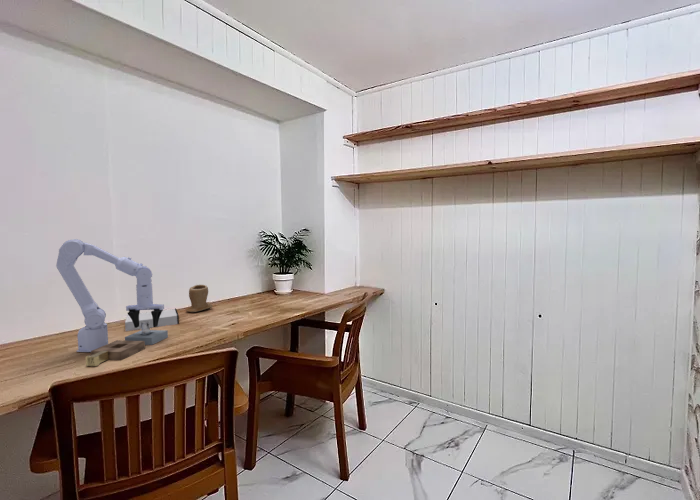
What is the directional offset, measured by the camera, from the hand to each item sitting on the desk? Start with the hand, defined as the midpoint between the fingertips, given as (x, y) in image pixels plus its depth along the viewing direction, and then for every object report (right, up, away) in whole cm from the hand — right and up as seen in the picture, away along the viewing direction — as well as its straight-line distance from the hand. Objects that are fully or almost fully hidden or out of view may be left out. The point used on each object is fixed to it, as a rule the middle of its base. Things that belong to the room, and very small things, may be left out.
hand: (146, 326), depth 144 cm
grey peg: (0, -6, 0) cm, 6 cm away
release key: (-3, -7, -24) cm, 25 cm away
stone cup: (-1, -3, +54) cm, 54 cm away
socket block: (-2, -7, -14) cm, 16 cm away
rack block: (0, -6, 0) cm, 6 cm away
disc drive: (-13, -5, +28) cm, 31 cm away
